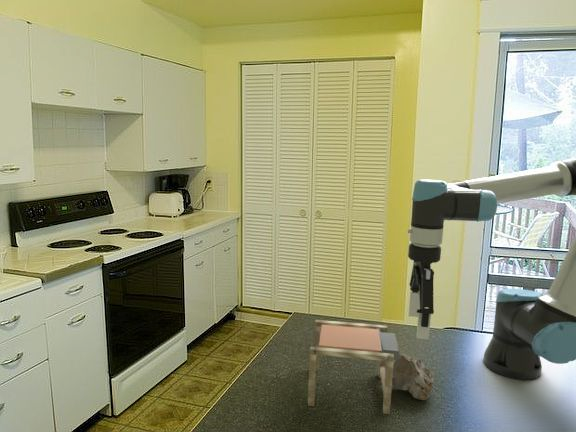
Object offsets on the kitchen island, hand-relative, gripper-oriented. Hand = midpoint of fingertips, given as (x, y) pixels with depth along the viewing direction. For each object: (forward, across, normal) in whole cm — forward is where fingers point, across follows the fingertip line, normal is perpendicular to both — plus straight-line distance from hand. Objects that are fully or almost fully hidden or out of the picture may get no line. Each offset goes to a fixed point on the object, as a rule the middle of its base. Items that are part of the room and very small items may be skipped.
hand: (417, 326), depth 111 cm
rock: (+19, 0, 0) cm, 19 cm away
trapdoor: (+7, +1, -15) cm, 16 cm away
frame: (+18, +1, -16) cm, 25 cm away
